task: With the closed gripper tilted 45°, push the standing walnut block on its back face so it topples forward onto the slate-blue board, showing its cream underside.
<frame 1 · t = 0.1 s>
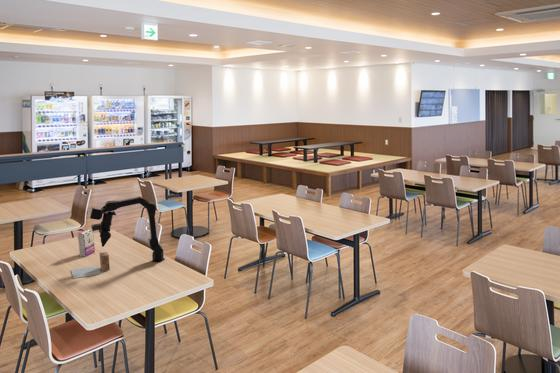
hand: (102, 244, 307), 15 cm above the table, tool pointing down, fingers open, 9 cm apart
slate board: (86, 272, 302), on the table
walnut block: (105, 269, 307), on the table
candy bar box: (87, 254, 337), on the table
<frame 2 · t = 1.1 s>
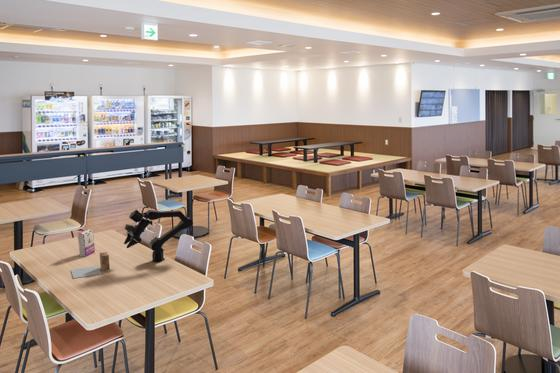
hand: (125, 245, 311), 13 cm above the table, tool tilted 45°, fingers open, 9 cm apart
nothing on the table moved.
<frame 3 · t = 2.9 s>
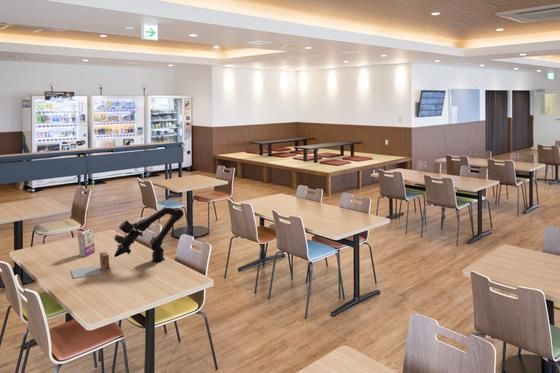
hand: (114, 256, 309), 7 cm above the table, tool tilted 45°, fingers closed
nothing on the table moved.
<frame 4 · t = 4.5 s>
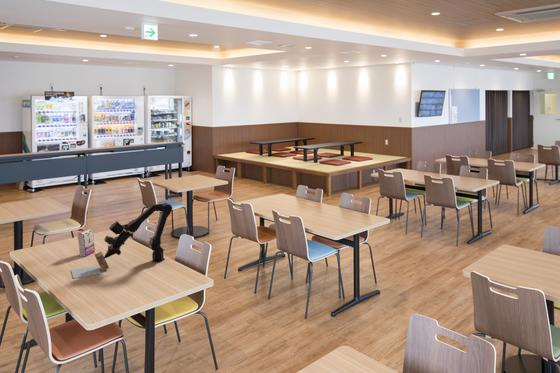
hand: (104, 257, 306), 7 cm above the table, tool tilted 45°, fingers closed
walnut block: (105, 268, 307), point 1 cm above the table, tilted 18°
everything else where it was.
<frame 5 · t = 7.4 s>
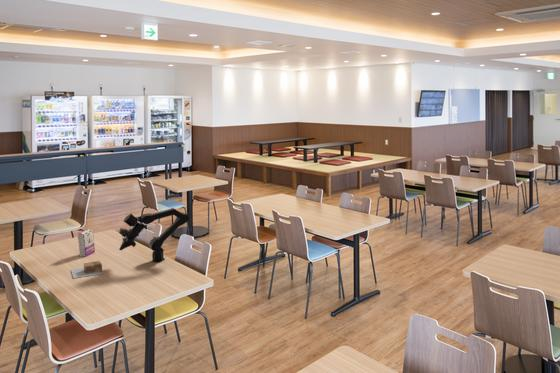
hand: (119, 249, 310), 11 cm above the table, tool tilted 45°, fingers closed
walnut block: (101, 265, 306), point 3 cm above the table, tilted 90°, touching slate board
everything else where it was.
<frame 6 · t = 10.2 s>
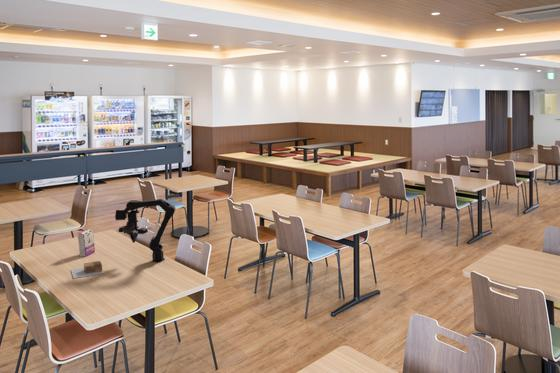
hand: (133, 242, 319), 13 cm above the table, tool pointing down, fingers closed
nothing on the table moved.
at the end: walnut block tilted 90°; walnut block touching slate board; walnut block inside the target area (4.2 cm from its centre), point 2.6 cm above the table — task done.
